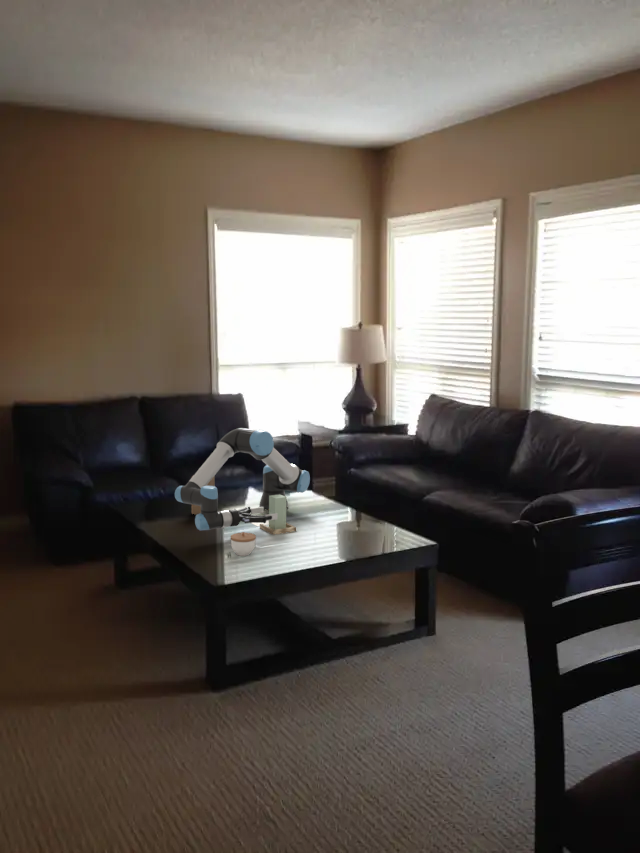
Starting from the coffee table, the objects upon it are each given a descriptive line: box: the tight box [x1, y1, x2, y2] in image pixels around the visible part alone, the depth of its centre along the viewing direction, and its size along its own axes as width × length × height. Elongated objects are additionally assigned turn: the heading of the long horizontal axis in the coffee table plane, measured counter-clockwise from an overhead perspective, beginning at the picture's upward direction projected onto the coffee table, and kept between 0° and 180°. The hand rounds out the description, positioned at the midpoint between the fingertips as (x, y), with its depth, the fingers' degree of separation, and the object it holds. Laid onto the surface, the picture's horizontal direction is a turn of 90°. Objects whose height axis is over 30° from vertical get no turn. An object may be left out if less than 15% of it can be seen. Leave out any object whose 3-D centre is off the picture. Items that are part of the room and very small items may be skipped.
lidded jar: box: [230, 531, 257, 557], centre depth 318 cm, size 11×11×9 cm
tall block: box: [268, 494, 287, 530], centre depth 354 cm, size 6×6×16 cm
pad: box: [251, 521, 269, 527], centre depth 367 cm, size 12×12×1 cm
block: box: [190, 474, 216, 516], centre depth 382 cm, size 10×10×20 cm
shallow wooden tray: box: [259, 522, 297, 536], centre depth 354 cm, size 12×13×2 cm
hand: (270, 512), depth 351 cm, fingers open, 13 cm apart
